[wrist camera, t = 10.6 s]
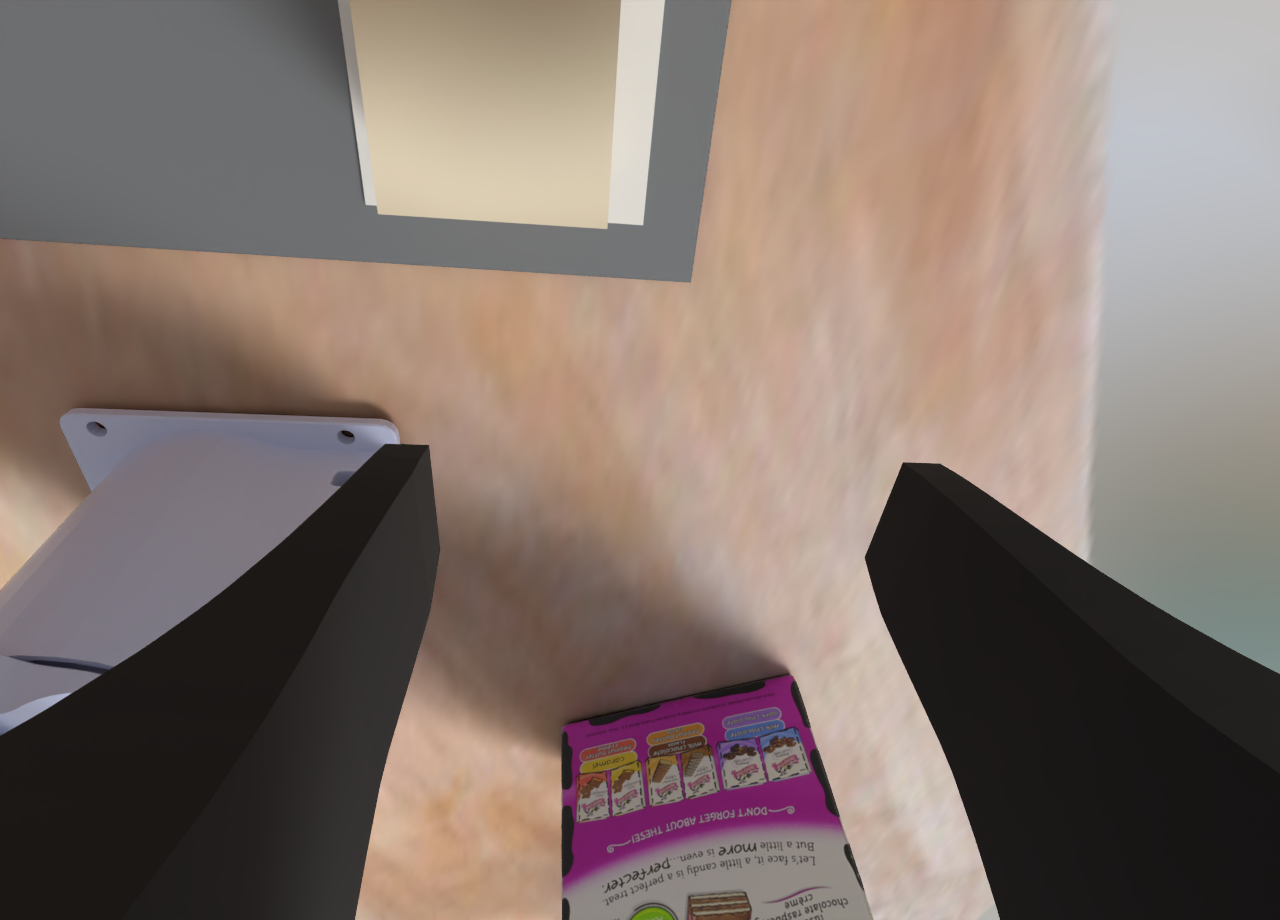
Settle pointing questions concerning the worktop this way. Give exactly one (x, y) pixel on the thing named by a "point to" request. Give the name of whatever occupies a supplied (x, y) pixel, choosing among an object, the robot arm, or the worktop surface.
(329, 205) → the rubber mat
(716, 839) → the candy bar box
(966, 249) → the worktop surface
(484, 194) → the green and cream block
